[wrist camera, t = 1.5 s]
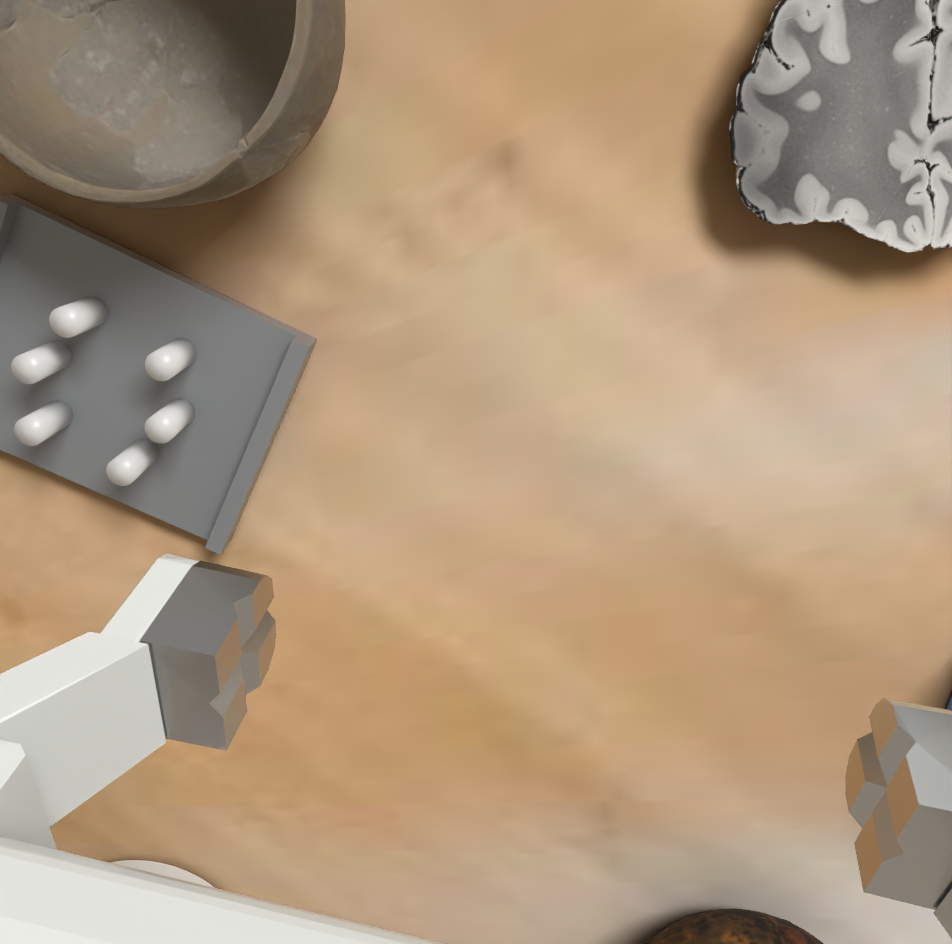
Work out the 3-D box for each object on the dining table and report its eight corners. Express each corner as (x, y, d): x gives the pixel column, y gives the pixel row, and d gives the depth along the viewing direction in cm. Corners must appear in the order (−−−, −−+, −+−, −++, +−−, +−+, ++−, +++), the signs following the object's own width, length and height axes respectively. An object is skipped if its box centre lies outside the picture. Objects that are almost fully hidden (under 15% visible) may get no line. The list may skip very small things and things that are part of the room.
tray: (230, 539, 54) (207, 573, 50) (-53, 415, 52) (-104, 440, 48) (316, 339, 50) (299, 357, 46) (11, 193, 48) (-39, 197, 43)
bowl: (-54, -65, 43) (-205, -125, 34) (257, -253, 41) (185, -375, 31) (134, 258, 49) (47, 283, 39) (421, 112, 46) (402, 102, 36)
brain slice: (1125, -148, 41) (1171, -170, 39) (1086, 221, 47) (1123, 226, 44) (708, -85, 43) (722, -101, 40) (719, 268, 48) (733, 275, 46)
